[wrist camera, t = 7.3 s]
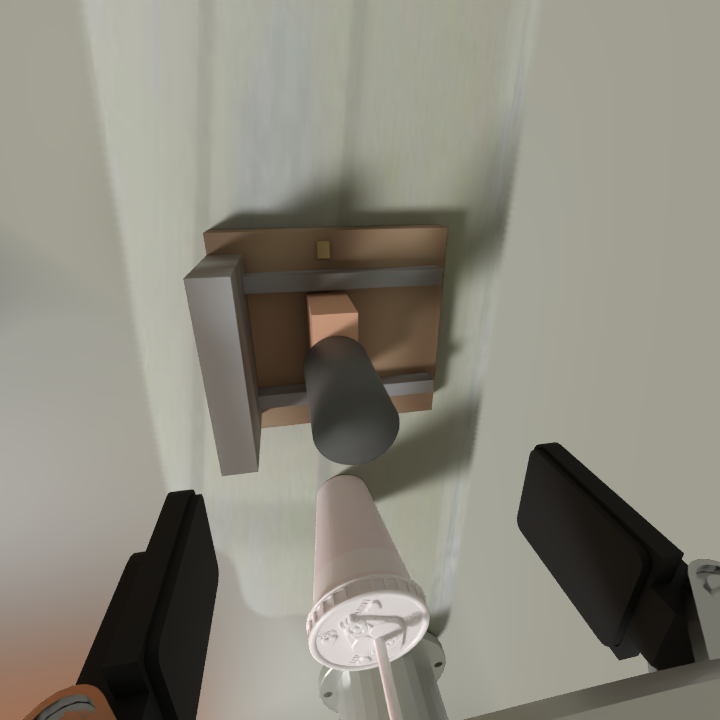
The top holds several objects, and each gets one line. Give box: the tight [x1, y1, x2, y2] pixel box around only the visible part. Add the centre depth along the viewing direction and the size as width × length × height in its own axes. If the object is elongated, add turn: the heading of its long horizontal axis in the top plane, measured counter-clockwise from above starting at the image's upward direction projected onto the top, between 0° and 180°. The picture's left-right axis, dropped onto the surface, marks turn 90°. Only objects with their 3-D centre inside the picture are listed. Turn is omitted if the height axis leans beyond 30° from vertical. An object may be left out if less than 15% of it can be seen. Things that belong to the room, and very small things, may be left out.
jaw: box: [304, 292, 399, 465], centre depth 17 cm, size 3×5×9 cm, turn 0°
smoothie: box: [306, 475, 430, 720], centre depth 22 cm, size 6×6×14 cm
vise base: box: [184, 225, 448, 476], centre depth 19 cm, size 12×11×6 cm
